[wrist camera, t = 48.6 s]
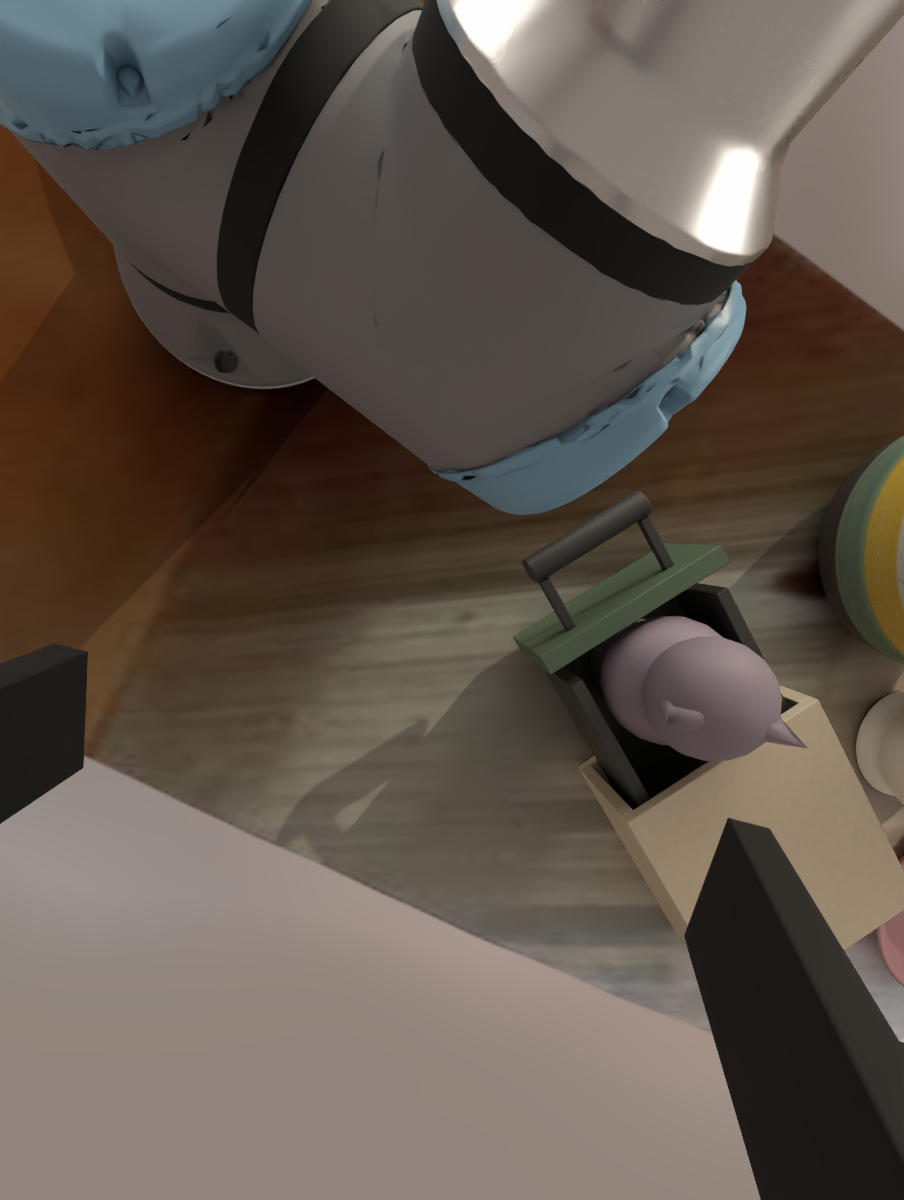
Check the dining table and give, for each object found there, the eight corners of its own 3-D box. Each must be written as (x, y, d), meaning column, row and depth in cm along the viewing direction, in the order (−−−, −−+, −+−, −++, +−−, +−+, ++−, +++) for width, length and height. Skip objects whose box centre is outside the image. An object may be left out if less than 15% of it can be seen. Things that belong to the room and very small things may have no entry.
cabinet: (577, 766, 43) (627, 823, 34) (732, 667, 44) (818, 699, 35) (673, 929, 45) (742, 1020, 37) (818, 833, 46) (919, 900, 38)
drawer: (475, 574, 39) (496, 582, 33) (631, 479, 40) (682, 468, 33) (611, 805, 42) (656, 856, 36) (753, 714, 43) (823, 747, 36)
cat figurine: (705, 617, 41) (842, 651, 29) (681, 727, 41) (805, 804, 29) (588, 596, 39) (681, 623, 28) (565, 710, 40) (646, 784, 28)
